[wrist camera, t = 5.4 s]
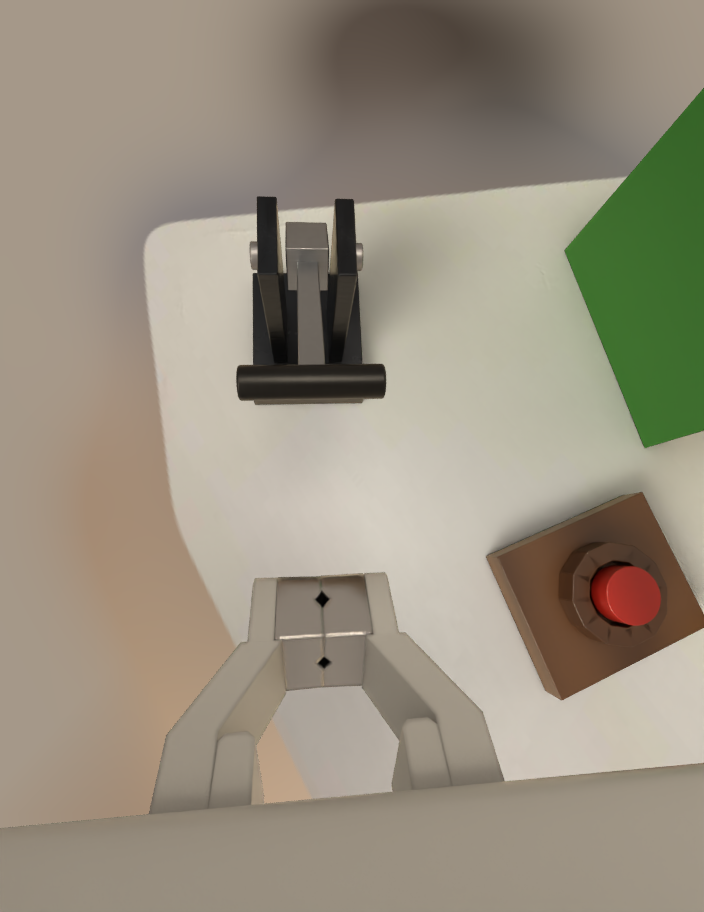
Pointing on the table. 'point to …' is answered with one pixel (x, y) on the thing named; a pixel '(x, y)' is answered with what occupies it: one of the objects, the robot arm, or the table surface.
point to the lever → (309, 335)
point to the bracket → (280, 305)
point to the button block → (570, 601)
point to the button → (626, 594)
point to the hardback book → (653, 282)
